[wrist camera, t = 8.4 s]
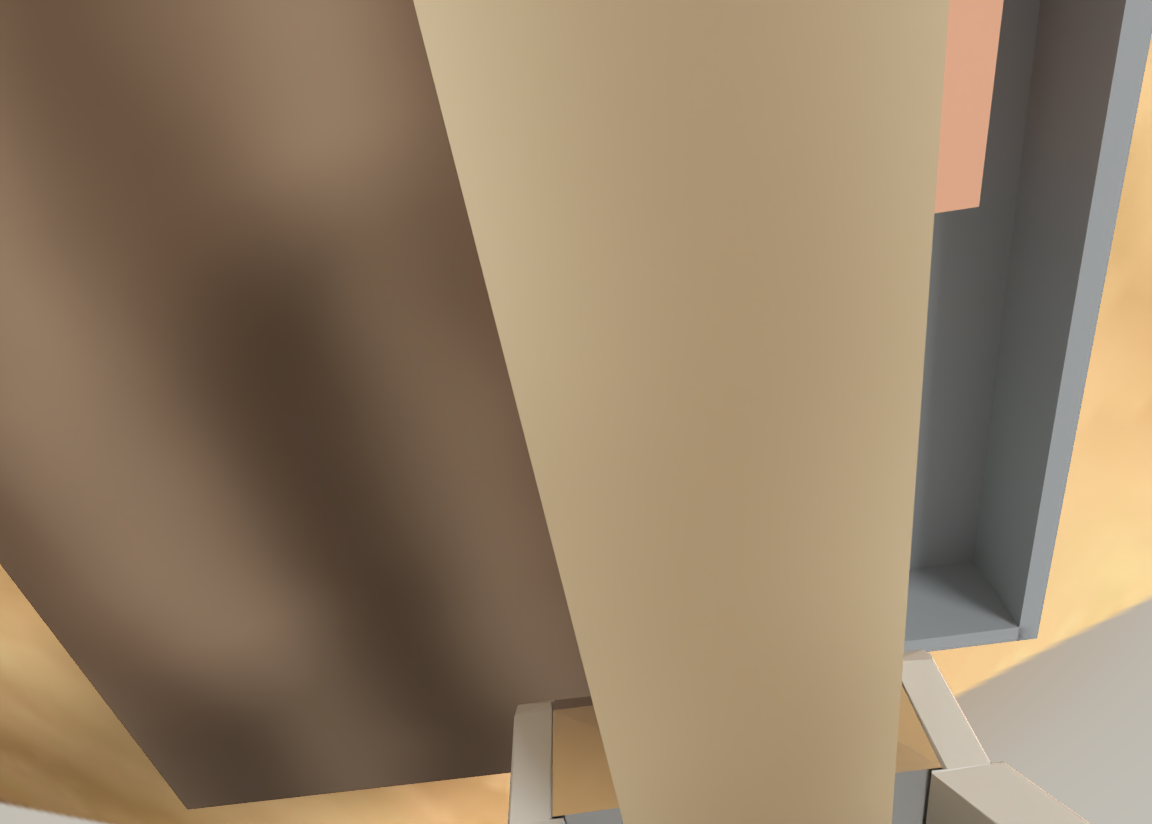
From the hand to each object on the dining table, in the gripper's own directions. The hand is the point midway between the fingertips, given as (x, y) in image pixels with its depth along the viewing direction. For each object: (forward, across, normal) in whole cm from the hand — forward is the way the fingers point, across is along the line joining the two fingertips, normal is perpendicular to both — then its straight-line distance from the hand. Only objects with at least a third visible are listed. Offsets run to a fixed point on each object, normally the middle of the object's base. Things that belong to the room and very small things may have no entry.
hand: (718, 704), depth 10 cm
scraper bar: (+1, 0, 0) cm, 1 cm away
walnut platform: (+13, +8, 0) cm, 16 cm away
